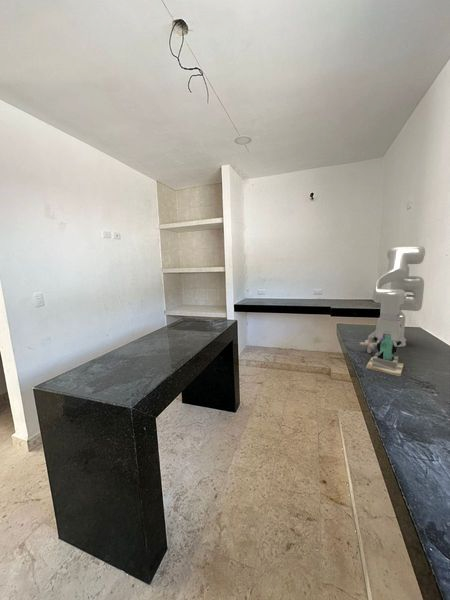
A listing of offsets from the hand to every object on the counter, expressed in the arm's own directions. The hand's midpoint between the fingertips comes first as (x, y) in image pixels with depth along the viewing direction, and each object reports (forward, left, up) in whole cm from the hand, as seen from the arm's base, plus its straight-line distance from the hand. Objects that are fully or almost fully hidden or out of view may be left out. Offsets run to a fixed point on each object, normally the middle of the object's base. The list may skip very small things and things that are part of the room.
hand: (386, 351), depth 121 cm
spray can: (0, 0, -7) cm, 7 cm away
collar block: (0, 0, -8) cm, 8 cm away
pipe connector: (-16, -10, -8) cm, 21 cm away
